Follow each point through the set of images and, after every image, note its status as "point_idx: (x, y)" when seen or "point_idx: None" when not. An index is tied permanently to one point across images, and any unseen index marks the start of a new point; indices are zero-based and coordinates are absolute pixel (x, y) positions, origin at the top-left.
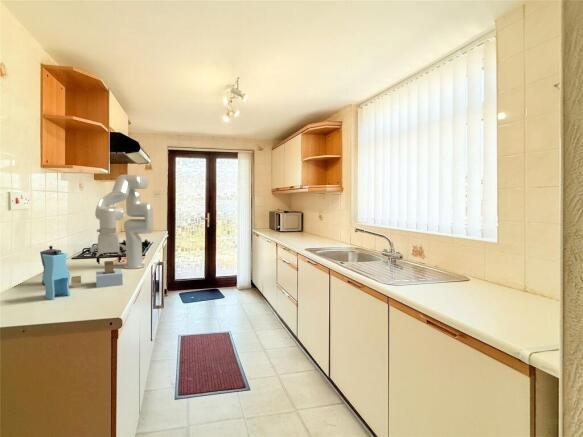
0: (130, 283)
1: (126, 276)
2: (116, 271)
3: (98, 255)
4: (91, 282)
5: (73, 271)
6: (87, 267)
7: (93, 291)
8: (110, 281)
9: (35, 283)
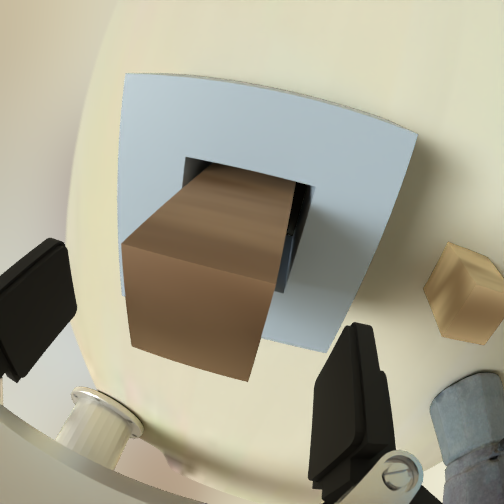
0: None
1: None
2: None
3: (371, 479)
4: (348, 311)
5: None
6: (259, 482)
7: (428, 28)
8: (268, 87)
9: None
